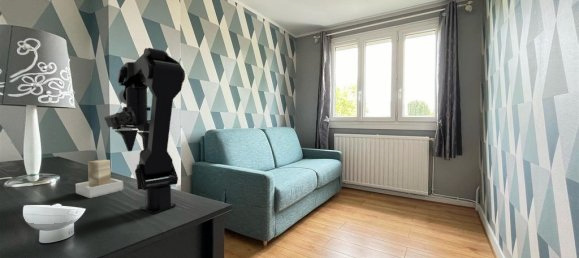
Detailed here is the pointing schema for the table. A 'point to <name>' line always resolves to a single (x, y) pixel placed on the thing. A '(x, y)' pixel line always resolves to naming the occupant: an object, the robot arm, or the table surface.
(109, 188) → the tray
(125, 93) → the robot arm
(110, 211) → the table surface
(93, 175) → the birch block
